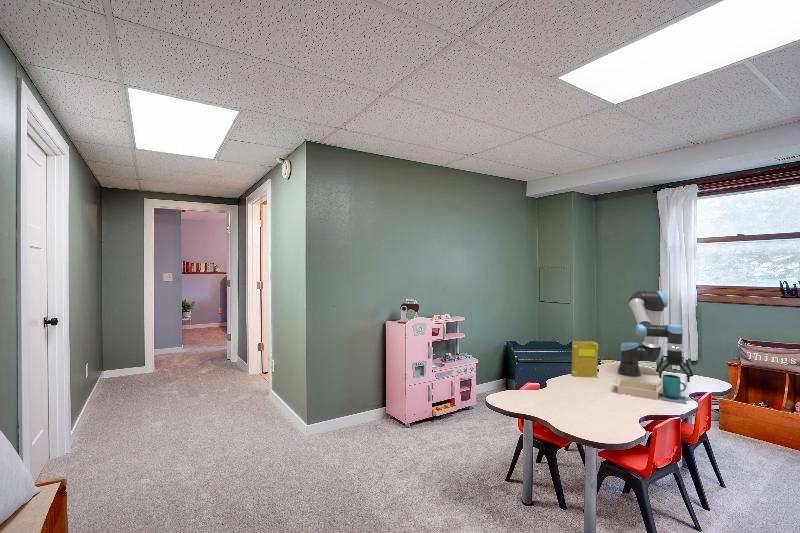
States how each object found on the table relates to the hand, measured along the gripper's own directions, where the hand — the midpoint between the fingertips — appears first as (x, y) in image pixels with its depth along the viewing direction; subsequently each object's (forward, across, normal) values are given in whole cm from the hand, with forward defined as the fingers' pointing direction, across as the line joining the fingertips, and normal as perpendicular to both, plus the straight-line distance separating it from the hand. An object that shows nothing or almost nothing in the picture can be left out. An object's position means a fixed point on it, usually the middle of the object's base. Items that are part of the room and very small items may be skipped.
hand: (673, 385), depth 245 cm
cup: (+6, 0, 0) cm, 6 cm away
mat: (+8, 0, 0) cm, 8 cm away
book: (+8, -54, +24) cm, 59 cm away
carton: (+8, -19, 0) cm, 21 cm away
